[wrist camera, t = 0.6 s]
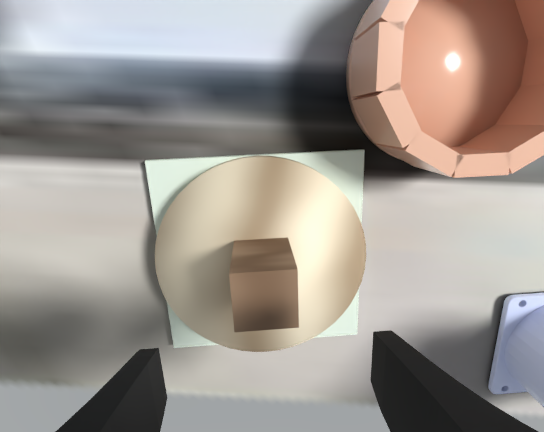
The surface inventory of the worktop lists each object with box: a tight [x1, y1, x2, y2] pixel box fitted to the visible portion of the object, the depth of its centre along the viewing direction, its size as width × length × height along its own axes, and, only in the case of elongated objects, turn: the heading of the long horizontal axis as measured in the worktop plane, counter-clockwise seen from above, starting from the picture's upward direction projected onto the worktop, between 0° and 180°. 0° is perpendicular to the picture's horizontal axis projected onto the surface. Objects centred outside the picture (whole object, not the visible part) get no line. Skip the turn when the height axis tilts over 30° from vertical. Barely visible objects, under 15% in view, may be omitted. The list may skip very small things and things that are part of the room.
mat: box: [145, 149, 365, 348], centre depth 19 cm, size 12×12×1 cm
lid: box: [155, 155, 366, 352], centre depth 17 cm, size 12×12×5 cm
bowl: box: [346, 0, 544, 178], centre depth 15 cm, size 10×10×4 cm
